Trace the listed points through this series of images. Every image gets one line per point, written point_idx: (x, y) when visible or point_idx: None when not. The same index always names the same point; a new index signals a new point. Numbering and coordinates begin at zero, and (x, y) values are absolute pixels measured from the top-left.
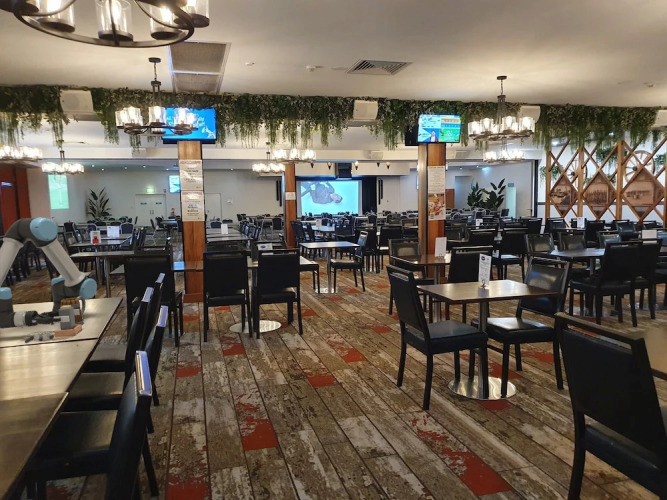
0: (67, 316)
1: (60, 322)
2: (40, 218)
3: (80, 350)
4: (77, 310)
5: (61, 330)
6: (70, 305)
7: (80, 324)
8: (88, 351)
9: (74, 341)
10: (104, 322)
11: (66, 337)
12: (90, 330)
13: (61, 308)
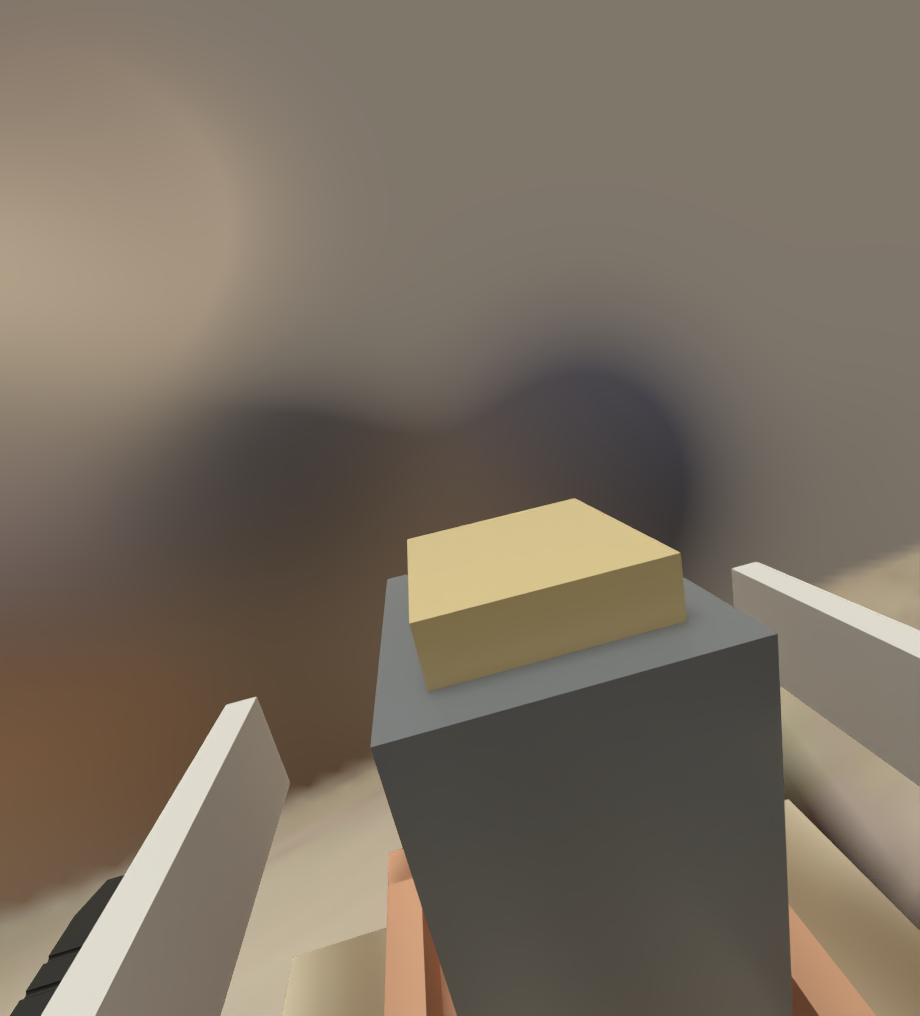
0: (768, 570)
1: (778, 966)
2: None
3: (915, 598)
4: (253, 726)
5: (839, 1003)
6: (438, 533)
7: (397, 863)
8: (880, 565)
9: (795, 777)
10: (17, 923)
11: (819, 915)
12: (352, 879)
13: (666, 580)
